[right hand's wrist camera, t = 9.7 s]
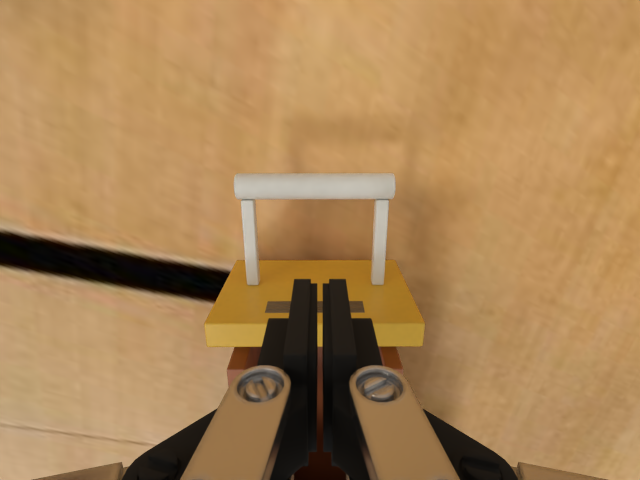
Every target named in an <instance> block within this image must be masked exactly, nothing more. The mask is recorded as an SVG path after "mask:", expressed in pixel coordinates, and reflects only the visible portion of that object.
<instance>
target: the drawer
mask: <svg viewBox="0 0 640 480" xmlns="http://www.w3.org/2000/svg"><path fill="white" fill-rule="evenodd" d="M395 187H396V182H395V176H394V174H393V173H237V174H236V175H235V178H234V192H235V196H236V198H237V199H242V200H241V211H242V224H243V238H244V251H245V260H237V261H236V263H235V265H234V267H233V269H232V271H231V273H230V275H229V277H228V279H227V281H226V282H225V284H224V286H223V288H222V290H221V292H220V294H219V296H218V298H217V300H216V302H215V304H214V306H213V308H212V310H211V312H210V314H209V316H208V317H207V319H206V321H205V323H204V327H205V335H206V343H207V347H235V348H234V351H233V353H232V356H231V359H230V362H229V365H228V368H227V376H228V385H229V386H230V384H231V383H232V381H233V380H234V378H235V377H236V376H237V375H238V374H240V373H241V372H242V371H244V370H246V369H248V368H251V367H255V366H257V364H258V360H259V356H260V352H261V347H262V343H263V339H264V335H265V330H266V326H267V322H268V319H269V318H289V311H290V304H291V297H292V290H293V284H294V279H311V283H317V339H318V365H317V452H309V460H308V466H302V467H301V468H300V469H299V470H297V471H296V472H295V473H294V480H346V473H345V472H344V471H343V470H341V469H340V468H339V467H338V466H332V460H331V452H323V365H322V339H323V283H329V279H346V284H347V290H348V297H349V304H350V311H351V318H371V319H372V322H373V326H374V330H375V335H376V339H377V343H378V347H379V352H380V356H381V360H382V364H383V366H385V367H389V368H392V369H394V370H396V371H398V372H399V373H400V374H402V375H403V367H402V364H401V361H400V357H399V354H398V351H397V348H396V346H422V345H423V339H424V329H425V322H424V320H423V318H422V316H421V314H420V312H419V310H418V307H417V305H416V303H415V301H414V299H413V297H412V295H411V293H410V291H409V289H408V286H407V284H406V282H405V280H404V278H403V276H402V274H401V272H400V270H399V268H398V265H397V263H396V261H395V260H385V257H386V241H387V225H388V209H389V200H388V199H393V198H394V195H395ZM255 199H375V205H374V225H373V245H372V260H259V253H258V236H257V220H256V204H255Z"/></svg>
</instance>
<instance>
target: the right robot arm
mask: <svg viewBox="0 0 640 480" xmlns="http://www.w3.org/2000/svg"><path fill="white" fill-rule="evenodd" d="M317 365H318V339H317V283H311V279H294V284H293V290H292V297H291V304H290V311H289V318H269V319H268V322H267V326H266V330H265V335H264V339H263V343H262V347H261V352H260V356H259V360H258V364H257V366H255V367H251V368H248V369H246V370H244V371H242V372H241V373H240V374H238V375H237V376H236V377H235V378H234V380H233V381H232V383H231V384H230V386H229V388H228V390H227V392H226V394H225V396H224V398H223V400H222V401H221V403H220V405H219V407H218V408H217V409H216V410H214V411H213V412H211V413H209V414H208V415H206V416H204V417H203V418H201V419H199V420H198V421H196V422H194V423H193V424H191V425H189V426H188V427H186V428H184V429H183V430H181V431H180V432H178V433H176V434H175V435H173V436H171V437H170V438H168V439H166V440H165V441H163V442H161V443H160V444H158V445H156V446H155V447H153V448H151V449H150V450H148V451H147V452H145V453H144V454H142V455H141V456H140V457H138V458H137V459H136V460H135V461H134V462H133V463H132V464H131V465H130V466H129V467H124V468H123V465H122V462H119V463H114V464H109V465H104V466H99V467H94V468H89V469H84V470H79V471H74V472H69V473H64V474H59V475H54V476H49V477H44V478H38V479H33V480H294V473H295V472H296V471H297V470H299V469H300V468H301V467H302V466H308V460H309V452H317ZM322 365H323V452H331V460H332V466H338V467H339V468H340V469H341V470H343V471H344V472H345V473H346V480H607V479H602V478H596V477H591V476H586V475H581V474H576V473H571V472H566V471H561V470H556V469H551V468H546V467H541V466H536V465H531V464H526V463H521V462H518V465H517V468H516V467H511V466H510V465H509V464H508V463H507V462H506V461H505V460H504V459H503V458H502V457H500V456H499V455H498V454H496V453H495V452H493V451H492V450H490V449H488V448H487V447H485V446H484V445H482V444H480V443H479V442H477V441H475V440H474V439H472V438H470V437H469V436H467V435H465V434H464V433H462V432H460V431H459V430H457V429H456V428H454V427H452V426H451V425H449V424H447V423H446V422H444V421H442V420H441V419H439V418H437V417H436V416H434V415H432V414H431V413H429V412H427V411H426V410H424V409H423V408H422V407H421V405H420V403H419V401H418V400H417V398H416V396H415V394H414V392H413V390H412V388H411V386H410V384H409V383H408V381H407V380H406V378H405V377H404V376H403V375H402V374H400V373H399V372H398V371H396V370H394V369H392V368H389V367H385V366H383V364H382V360H381V356H380V352H379V347H378V343H377V339H376V335H375V330H374V326H373V322H372V319H371V318H351V311H350V304H349V297H348V290H347V284H346V279H329V283H323V339H322Z"/></svg>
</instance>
